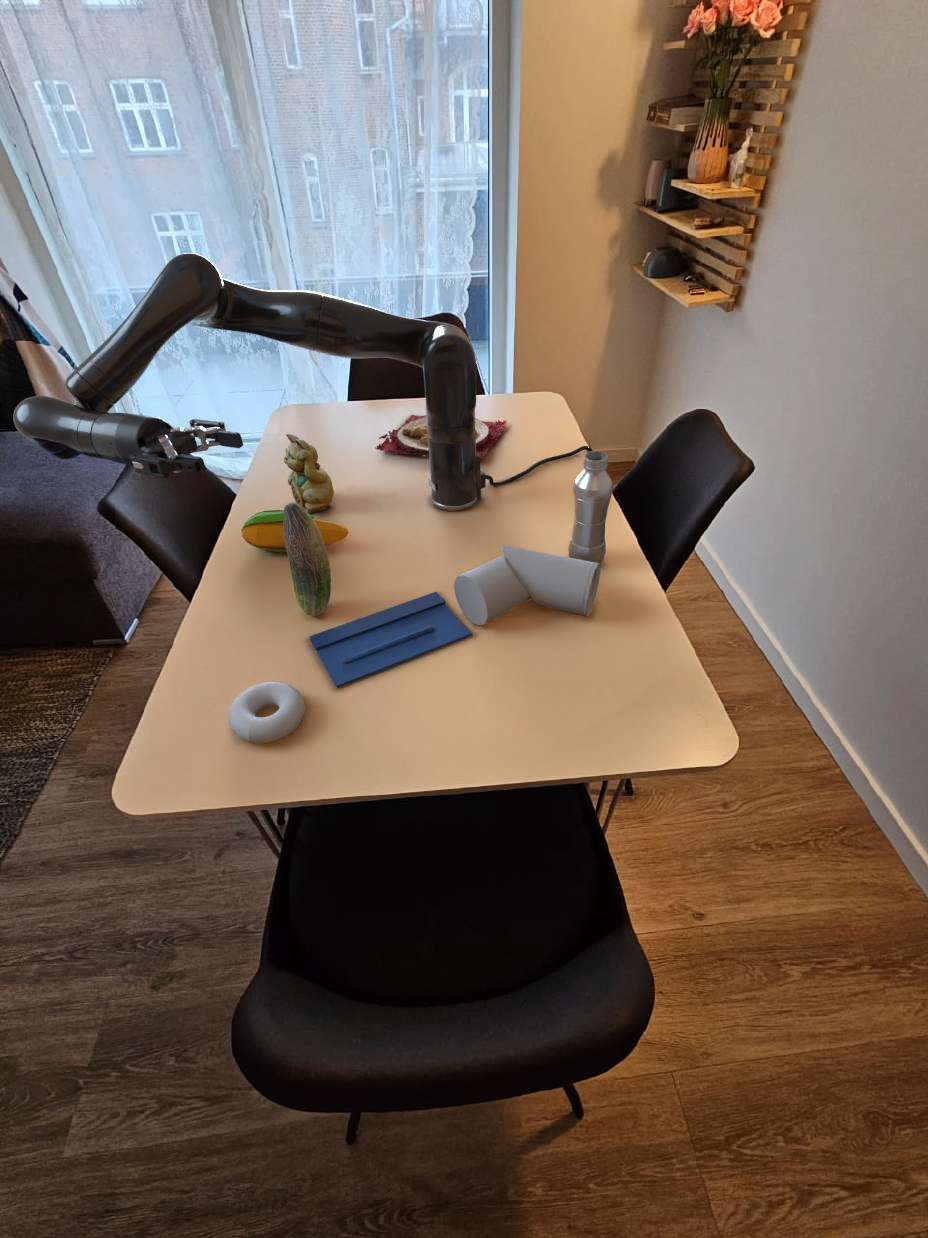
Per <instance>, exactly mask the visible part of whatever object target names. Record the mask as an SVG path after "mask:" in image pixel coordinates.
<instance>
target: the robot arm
mask: <svg viewBox="0 0 928 1238" xmlns="http://www.w3.org/2000/svg"><path fill="white" fill-rule="evenodd" d="M188 324H190V325H192V326H195V327H198V328H203V329H210V330H211V329H212V330H220V331H229V332H235V333H236V332H237V333H241V334H242V333H243V334H249V335H254V336H259V337H262V338H265V339H268V340H271V341H276V342H278V343H282V344H284V345H285V344H286V345H289V346H293V347H297V348H299V349H304V350H307V351H310V352H316V353H318V354H323V355H328V356H332V357H338V358H342V359H343V358H344V359H379V358H383V359H392V360H398V361H400V362H404V363H407V364H411V365H414V366H418V367H419V368H422V369H423V371H422V372H423V383H424V384H423V385H424V397H425V408H424V409H425V415H426V421H427V434H428V448H429V451H428V459H429V475H430V478H428V486H429V487H430V488H431V490H430V491H431V503H432V504H433V506H434V507H436V508H437V509H440V510H442V511H448V512H450V511H451V512H456V511H457V512H458V511H463V510H467V509H470V508H471V507H474V506H475V505H476V504H477V502H479V501H482V489H484V488H486V485H487V484H486V482H487V481H486V480H488V483H489V485H490V486H492V487H499V486H502V485H506V484H509V483H510V484H511V483H512V482H514V481H516V480H518V479H521V478H522V477H524V476H526V475H528V474H530V473H531V472H532V471H534V470H535V469H536V468H538V467H540V466H542V465H544V464H548V463H550V462H553V461H557V460H558V461H559V460H562V459H566V458H570V457H573V456H575V455H577V454H579V453H581V452H583V451H587V452H591V451H594V450H593V449H592V447H590V446H588V445H583V446H580V447H578V448H576V449H574V450H572V451H570V452H567V453H563V454H558V455H554V456H550V457H547V458H544V459H541V460H539V461H536V462H535V463H533V464H532V465H531V466H529V467H528V468H527V469H525V470H523V471H522V472H519V473H517V474H515V475H513V476H511V477H509V478H507V479H505V480H502V481H498V482H497V481H494V478H493V476H491V475H489V474H486V472H485V471H483V470H482V469H481V468H482V467H481V458H480V456H479V455H477V454H476V433H475V418H476V407H477V362H476V360H477V359H476V353H475V349H474V348H473V344H472V343H471V340H470V339H469V337H468V336H467V334H466V333H465V331H463V330H462V328H460V327H458V326H457V325H454V324H451V323H447V322H439V321H431V320H424V319H417V318H412V317H411V318H409V317H406V316H405V317H404V316H400V315H396V314H393V313H389V312H386V311H384V310H381V309H378V308H375V307H372V306H369V305H365V304H361V303H358V302H354V301H351V300H349V299H344V298H341V297H338V296H333V295H330V294H326V293H322V292H316V291H311V290H296V289H295V290H293V289H292V290H265V289H259V288H255V287H250V286H247V285H244V284H240V283H237V282H234V281H232V280H228V279H226V278H223V277H222V275H221V273H220V271H219V269H218V268H217V267H216V266H215V264H214V262H212V261H211V260H209V259H208V258H207V257H205V256H203V255H202V254H198V253H193V252H183V253H181V254H177V255H176V256H174V257H172V258H171V259H170V260H169V261H168V262H167V263H166V264H165V266H164V267H163V268H162V270H161V271H160V272H159V274H158V276H157V277H156V278H155V280H154V281H153V282H152V284H151V286H150V288H148V290H147V291H146V293H145V294H144V296H143V297H142V298H141V300H140V301H139V302H138V303H137V304H136V306H135V307H134V308H133V309H132V311H131V312H130V313H129V315H128V316H127V317H126V318H125V319H124V321H123V322H122V323H121V324H120V325H119V326H118V327H117V328H116V329H115V330H114V331H113V333H111V334H110V335H109V337H108V338H107V339H105V340H104V342H102V343H101V344H100V345H99V346H98V347H97V348H96V349H95V350H94V351H92V353H91V354H90V355H89V356H88V357H86V359H84V360H83V362H81V363H80V364H79V365H78V366H77V367H75V369H74V370H73V371H72V372H71V373H70V374H69V375H68V376H67V377H66V379H65V382H64V385H65V386H64V387H65V389H66V390H67V391H68V393H69V394H70V395H71V396H72V398H73V399H74V400H75V404H74V403H70V402H67V401H64V400H62V399H59V398H56V397H53V396H49V395H48V396H47V395H35V396H30V397H27V398H25V399H23V400H21V401H20V402H19V403H18V404H17V405H16V406H15V408H14V409H13V410H14V411H13V416H12V420H13V424H14V427H15V428H16V430H17V431H18V433H20V434H21V436H23V437H24V438H26V439H27V440H29V441H30V442H32V443H34V444H35V445H37V446H38V447H39V448H41V449H43V450H44V451H46V452H47V453H49V454H51V455H52V456H53V457H55V458H57V459H60V460H71V459H74V458H77V457H79V456H80V455H84V456H86V457H90V458H93V459H101V460H107V461H112V462H115V463H118V464H121V465H128V466H133V467H134V470H135V472H136V473H137V474H141V475H147V476H151V477H157V478H159V479H160V478H161V479H167V478H170V477H171V473H174V474H180V473H182V472H188V473H193V474H194V473H195V474H199V475H200V474H201V475H202V474H204V473H206V471H207V467H206V463H205V461H204V459H203V458H202V457H201V456H196V455H190V454H194V453H200V452H201V453H202V452H206V451H209V448H210V447H218V446H220V447H226V448H233V449H241V448H242V447H243V446H244V441H243V438H242V435H241V433H240V432H236V431H231V430H229V431H228V430H227V428H226V425H225V422H224V421H220V420H219V421H218V420H217V421H216V420H207V419H197V418H195V419H194V418H192V419H190V420H189V421H188V422H189V425H190V426H189V427H181V426H178V427H174V426H172V425H171V424H170V423H169V422H167V421H166V420H165V419H163V418H161V417H158V416H153V415H152V416H151V415H145V414H135V413H129V412H109V411H111V409H112V408H113V407H114V406H115V405H116V404H117V403H118V402H120V400H121V399H122V398H123V397H124V396H126V394H127V393H129V391H131V390H132V388H133V387H135V385H136V384H137V383H138V382H139V381H140V379H141V378H142V377H143V375H144V374H145V372H146V371H147V370H148V368H149V366H150V365H151V363H152V362H153V360H154V359H155V358H156V356H157V355H158V353H159V352H160V350H161V349H162V348H163V347H164V345H165V344H167V342H168V341H169V340H170V339H171V338H172V337H173V336H174V335H175V334H176V333H177V332H179V331H180V330H182V329H183V328H184V327H185V326H186V325H188ZM196 438H197V439H199V440H200V443H201V444H199V445H198V443H197V440H196ZM588 447H589V448H588Z"/></svg>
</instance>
